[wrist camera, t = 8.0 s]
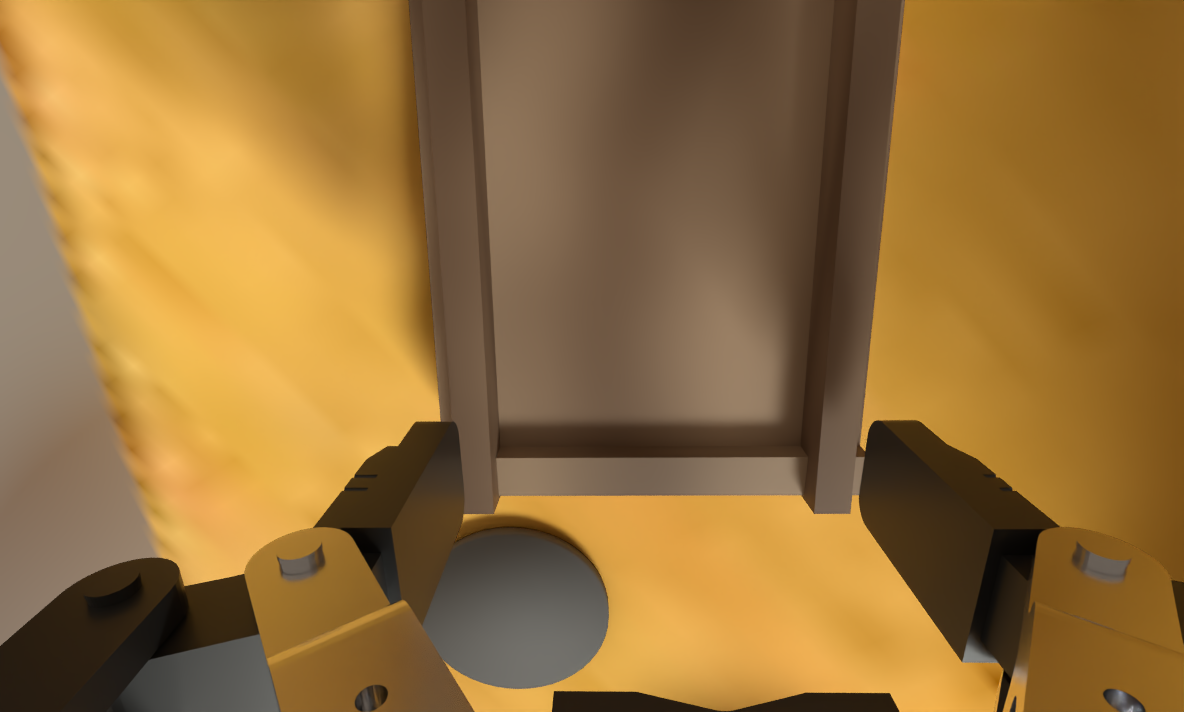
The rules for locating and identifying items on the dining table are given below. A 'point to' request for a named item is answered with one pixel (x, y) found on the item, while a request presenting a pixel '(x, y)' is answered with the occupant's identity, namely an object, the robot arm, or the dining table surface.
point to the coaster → (517, 609)
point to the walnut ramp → (655, 240)
